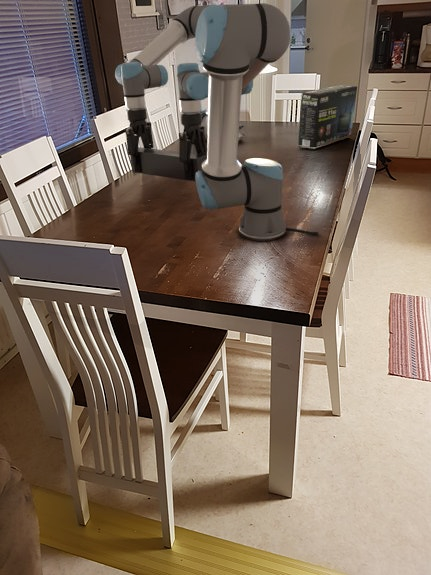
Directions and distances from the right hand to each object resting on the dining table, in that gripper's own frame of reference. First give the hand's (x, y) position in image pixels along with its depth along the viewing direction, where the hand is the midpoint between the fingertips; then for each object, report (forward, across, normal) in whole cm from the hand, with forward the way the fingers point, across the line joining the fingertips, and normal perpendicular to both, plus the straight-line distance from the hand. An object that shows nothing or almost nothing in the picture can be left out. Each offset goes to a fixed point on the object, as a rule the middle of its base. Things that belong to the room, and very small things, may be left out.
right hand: (194, 176), depth 172 cm
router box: (+10, -103, +17) cm, 105 cm away
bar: (+1, 0, -12) cm, 12 cm away
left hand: (0, 0, -24) cm, 24 cm away
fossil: (+10, -87, -34) cm, 94 cm away
